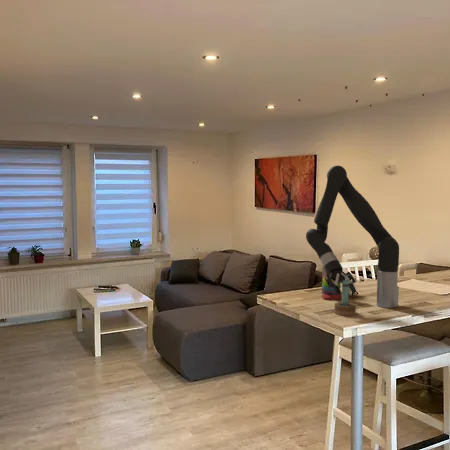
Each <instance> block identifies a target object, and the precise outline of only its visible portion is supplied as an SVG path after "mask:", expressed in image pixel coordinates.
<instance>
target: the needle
mask: <svg viewBox="0 0 450 450" xmlns="http://www.w3.org/2000/svg"><path fill="white" fill-rule="evenodd" d="M341 286H342V287H341V295H342V299H341V302H342V306H348V303H349V291H350V290H349V289H350V288H349V281H348V280H346V279H345V280H343V281H342V283H341Z"/></svg>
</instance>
